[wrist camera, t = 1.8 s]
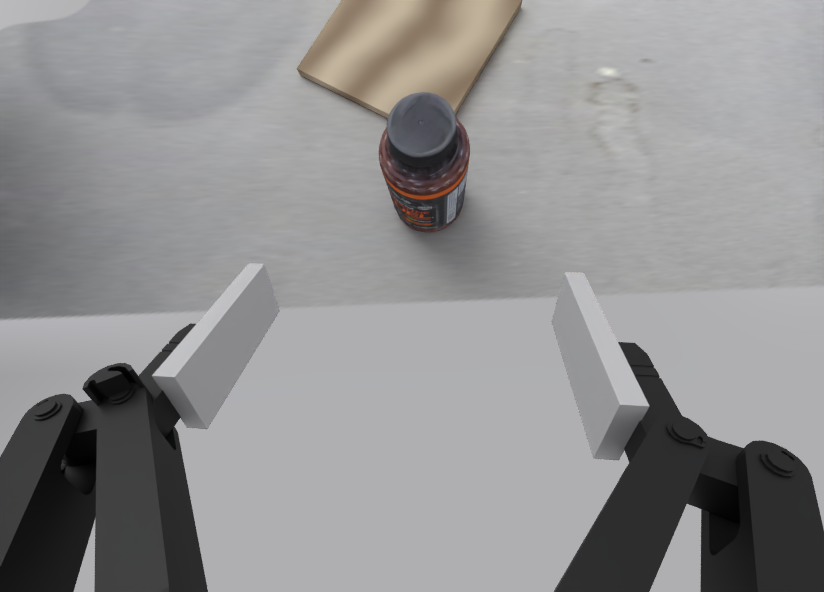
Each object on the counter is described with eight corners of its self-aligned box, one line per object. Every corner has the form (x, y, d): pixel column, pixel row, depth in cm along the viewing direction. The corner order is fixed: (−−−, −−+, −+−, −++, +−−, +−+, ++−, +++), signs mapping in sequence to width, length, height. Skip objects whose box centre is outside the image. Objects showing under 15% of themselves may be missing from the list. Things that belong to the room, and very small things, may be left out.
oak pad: (300, 75, 35) (296, 68, 34) (381, -51, 36) (380, -60, 35) (438, 143, 32) (437, 138, 32) (520, 7, 34) (522, -1, 33)
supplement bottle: (383, 219, 32) (350, 150, 21) (411, 159, 32) (393, 60, 21) (447, 245, 31) (447, 187, 20) (474, 183, 32) (490, 92, 20)
